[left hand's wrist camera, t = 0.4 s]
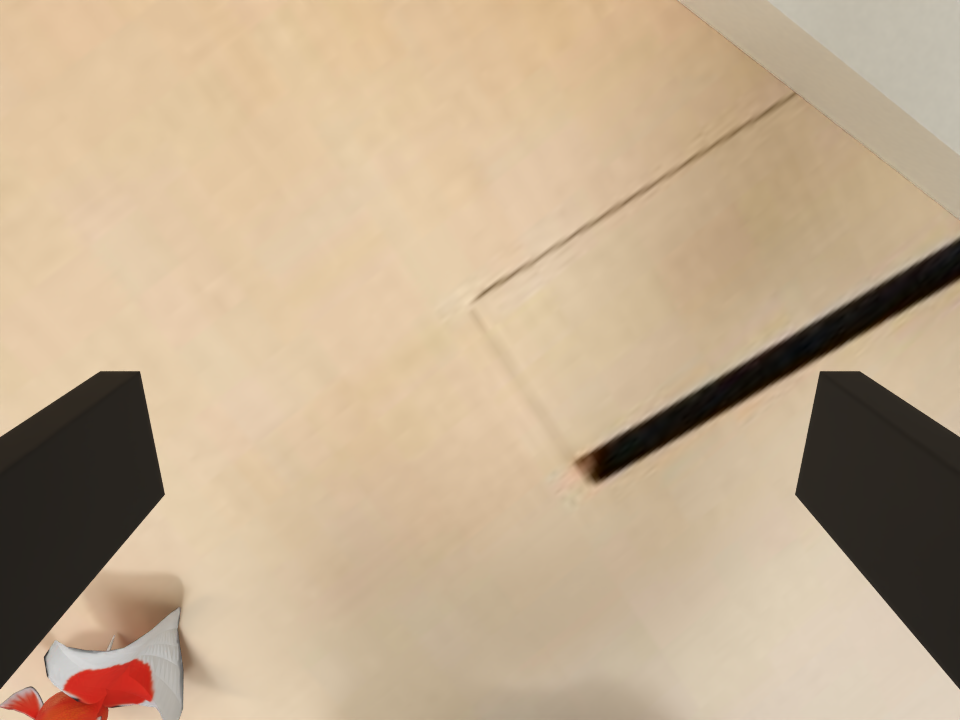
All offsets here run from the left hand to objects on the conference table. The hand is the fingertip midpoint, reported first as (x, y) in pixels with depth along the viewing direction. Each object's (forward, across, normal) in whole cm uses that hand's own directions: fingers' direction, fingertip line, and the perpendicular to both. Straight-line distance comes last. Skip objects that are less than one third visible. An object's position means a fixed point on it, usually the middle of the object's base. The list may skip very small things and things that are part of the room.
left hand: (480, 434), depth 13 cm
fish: (+27, +28, +33) cm, 51 cm away
